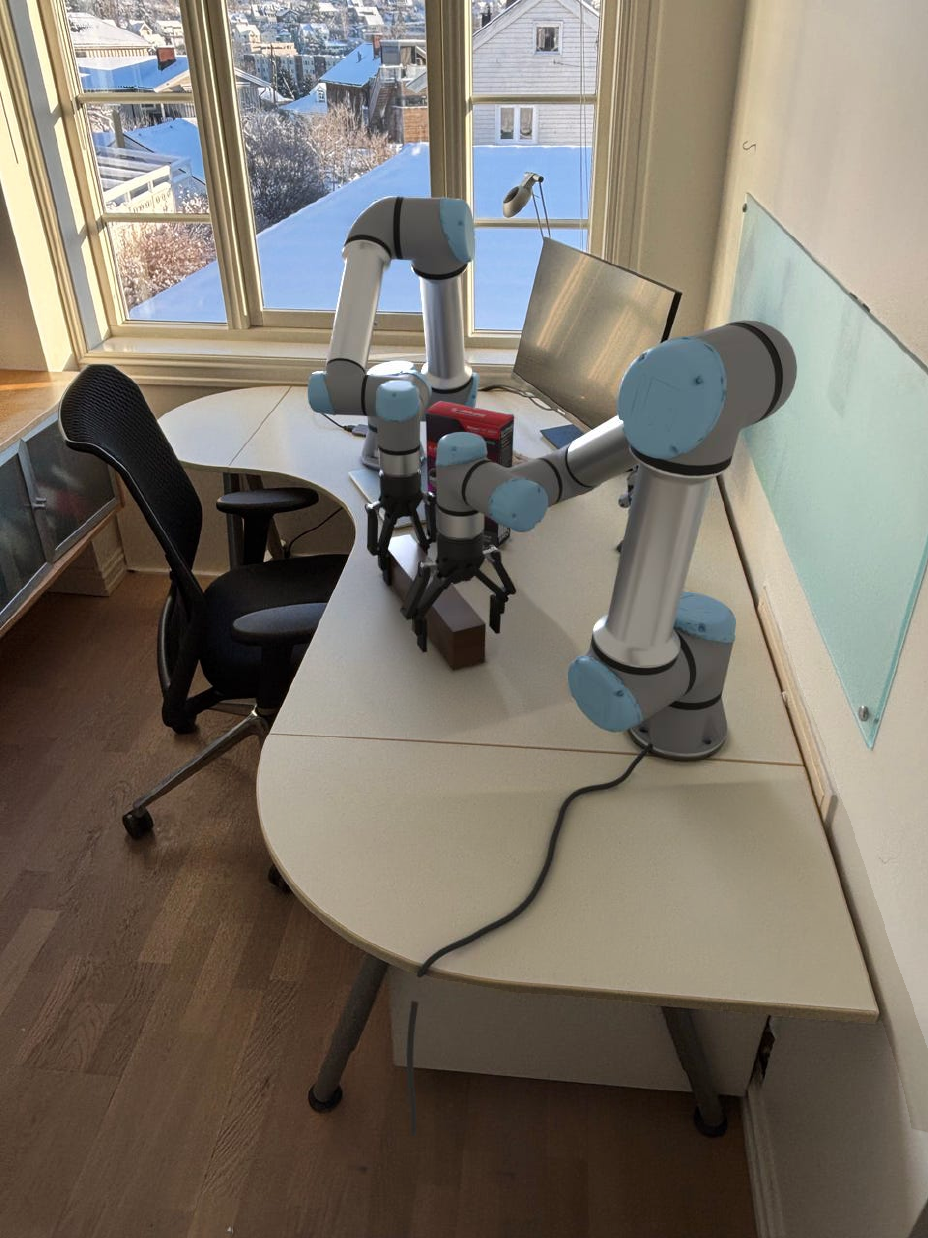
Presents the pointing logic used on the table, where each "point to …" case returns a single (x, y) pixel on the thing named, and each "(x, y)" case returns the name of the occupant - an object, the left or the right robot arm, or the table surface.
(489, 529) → the graphics card box
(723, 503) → the table surface
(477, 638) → the beam
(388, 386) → the left robot arm
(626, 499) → the robot
